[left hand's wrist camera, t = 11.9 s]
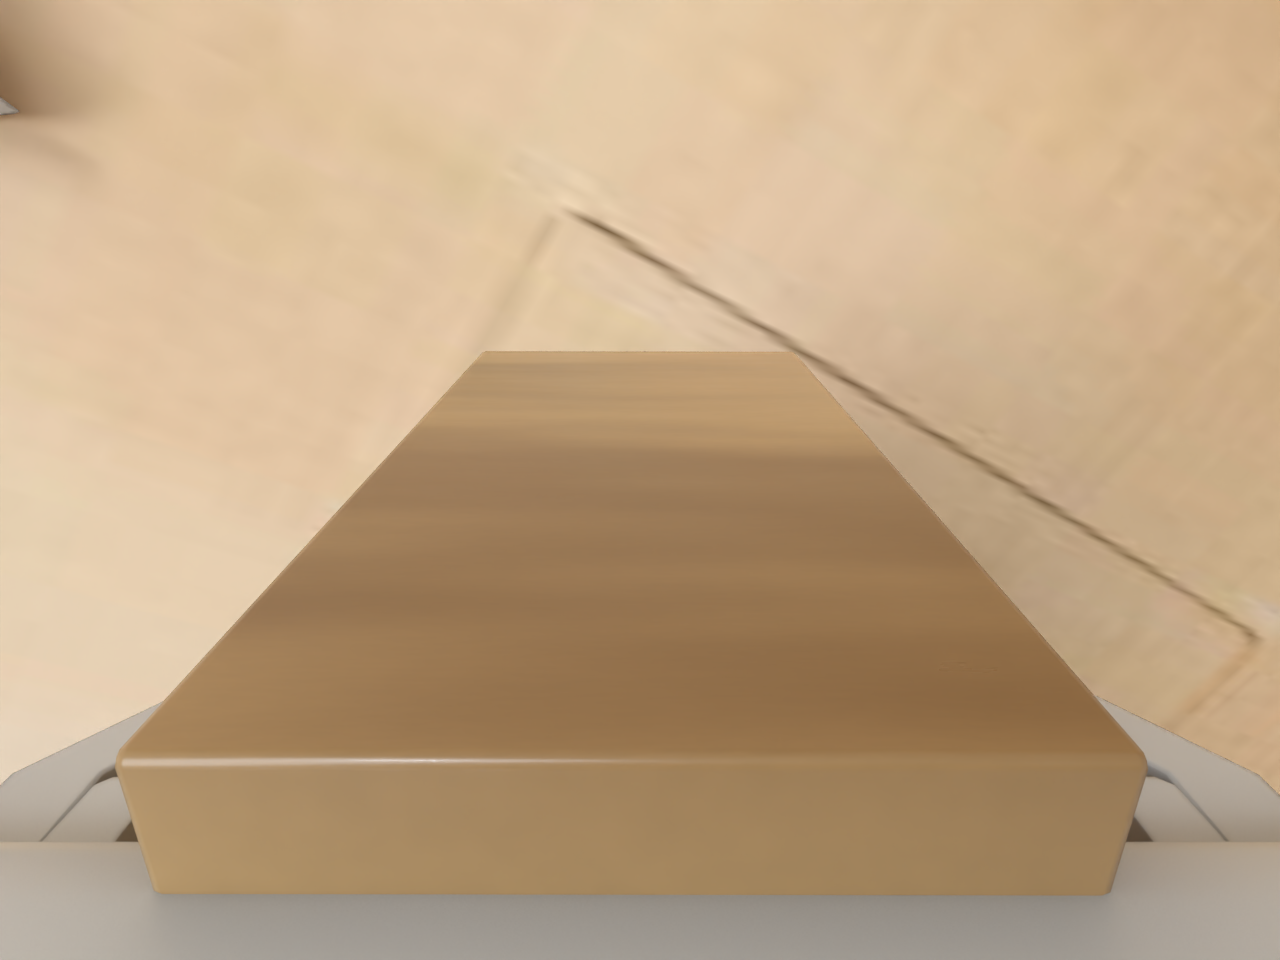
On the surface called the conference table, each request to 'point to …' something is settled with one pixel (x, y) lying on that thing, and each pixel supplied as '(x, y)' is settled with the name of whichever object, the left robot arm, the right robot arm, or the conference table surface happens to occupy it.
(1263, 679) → the conference table surface
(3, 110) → the fish
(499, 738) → the box
